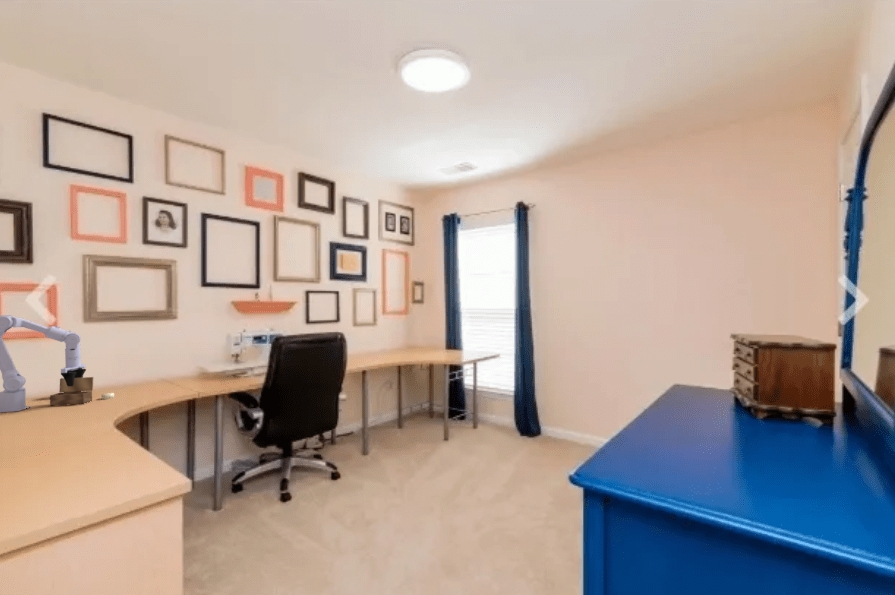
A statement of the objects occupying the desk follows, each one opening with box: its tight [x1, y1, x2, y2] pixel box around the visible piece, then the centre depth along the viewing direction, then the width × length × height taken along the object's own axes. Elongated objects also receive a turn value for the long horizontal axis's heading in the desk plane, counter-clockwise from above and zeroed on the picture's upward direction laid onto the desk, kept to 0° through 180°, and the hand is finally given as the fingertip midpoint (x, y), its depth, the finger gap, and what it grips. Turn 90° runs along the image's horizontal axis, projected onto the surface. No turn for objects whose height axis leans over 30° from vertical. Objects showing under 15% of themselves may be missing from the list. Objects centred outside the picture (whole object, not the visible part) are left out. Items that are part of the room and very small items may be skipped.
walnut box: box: [49, 391, 93, 406], centre depth 207 cm, size 14×6×5 cm, turn 101°
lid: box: [58, 376, 94, 393], centre depth 211 cm, size 14×7×1 cm
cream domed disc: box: [100, 392, 115, 400], centre depth 218 cm, size 5×5×2 cm
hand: (74, 385), depth 208 cm, fingers open, 5 cm apart
